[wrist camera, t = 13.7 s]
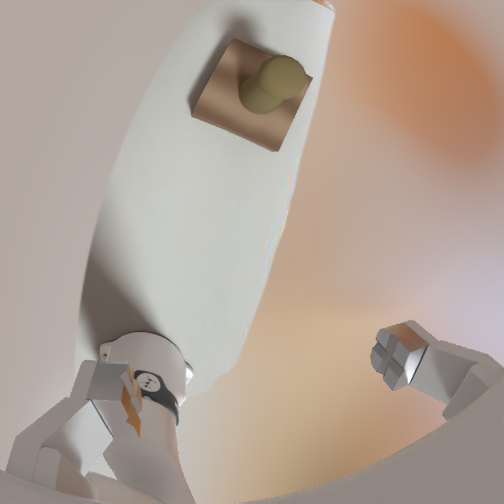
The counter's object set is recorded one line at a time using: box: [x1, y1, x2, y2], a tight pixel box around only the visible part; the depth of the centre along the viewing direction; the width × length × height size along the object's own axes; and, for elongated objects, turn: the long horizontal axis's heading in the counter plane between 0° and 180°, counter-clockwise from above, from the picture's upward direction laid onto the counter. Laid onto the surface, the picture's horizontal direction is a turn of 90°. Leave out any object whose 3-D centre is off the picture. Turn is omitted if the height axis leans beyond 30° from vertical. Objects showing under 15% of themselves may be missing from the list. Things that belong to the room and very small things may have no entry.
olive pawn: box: [239, 55, 306, 115], centre depth 28 cm, size 6×6×11 cm
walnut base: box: [192, 38, 313, 152], centre depth 34 cm, size 13×13×3 cm
